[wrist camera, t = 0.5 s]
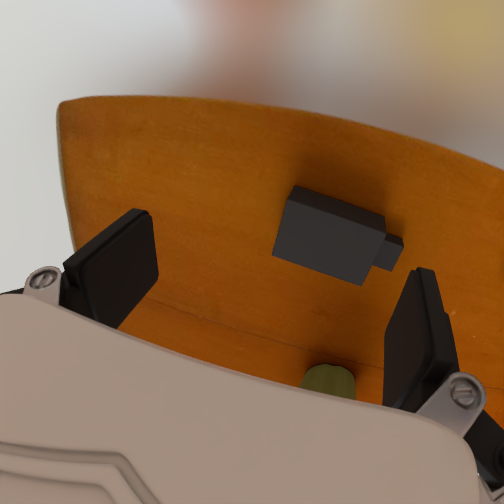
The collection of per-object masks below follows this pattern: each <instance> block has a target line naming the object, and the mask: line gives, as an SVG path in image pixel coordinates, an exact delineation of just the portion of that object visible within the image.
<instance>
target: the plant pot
mask: <svg viewBox="0 0 504 504" xmlns="http://www.w3.org/2000/svg"><path fill="white" fill-rule="evenodd" d="M299 388H302V389H306V390H310V391H315V392H319V393H324V394H328V395H333V396H337V397H342V398H346V399H351V400H356V392H355V380H354V377H353V375H352V374H351V372H350V371H348V370H347V369H345V368H343V367H341V366H332V365H329V364H321V365H317V366H314V367H312V368H310V369H309V370H308V371H307V372H306V374H305V376H304V378H303V380H302V382H301V384H300V386H299Z"/></svg>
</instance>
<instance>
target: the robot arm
mask: <svg viewBox="0 0 504 504" xmlns="http://www.w3.org/2000/svg"><path fill="white" fill-rule="evenodd" d="M63 266H64V270H65V271H64V272H63V273H61V271H60V270H59V268H56V267H53V266H47V267H43V268H40V269H38V270H36V271H34V272H33V273H31V274H30V276H29V277H28V278H27V280H26V283H25V286H24V288H21V289H17V290H13V291H9V292H5V293H1V294H0V504H504V430H503V429H502V428H501V427H500V426H499V425H498V424H497V423H496V422H495V421H494V420H493V419H492V418H491V417H490V416H489V415H488V414H487V413H486V412H485V411H484V410H483V408H484V406H485V403H486V392H485V389H484V387H483V385H482V383H481V382H480V381H479V380H478V379H477V378H476V377H474V376H473V375H471V374H469V373H466V372H460V370H459V364H458V358H457V352H456V347H455V342H454V337H453V332H452V328H451V323H450V319H449V316H448V314H447V313H446V312H444V308H443V304H442V299H441V295H440V291H439V288H438V284H437V280H436V276H435V273H434V271H433V270H430V269H425V268H421V267H417V269H416V270H411V271H410V273H409V276H408V278H407V281H406V283H405V286H404V288H403V291H402V293H401V296H400V298H399V301H398V303H397V305H396V308H395V310H394V312H393V315H392V317H391V319H390V321H389V324H388V326H387V328H386V331H385V337H384V383H383V402H382V406H381V405H377V404H372V403H366V402H361V401H356V400H351V399H346V398H342V397H337V396H333V395H328V394H324V393H319V392H315V391H310V390H306V389H302V388H298V387H293V386H289V385H285V384H281V383H277V382H274V381H270V380H266V379H262V378H259V377H255V376H252V375H248V374H244V373H241V372H238V371H234V370H231V369H227V368H224V367H221V366H218V365H214V364H211V363H208V362H205V361H202V360H199V359H196V358H193V357H190V356H187V355H184V354H181V353H178V352H175V351H172V350H169V349H166V348H164V347H161V346H158V345H155V344H153V343H150V342H147V341H144V340H142V339H139V338H137V337H134V336H131V335H129V334H126V333H124V332H121V331H119V330H116V329H117V328H118V327H119V325H120V324H121V323H122V322H123V321H124V319H125V318H126V317H127V316H128V315H129V313H130V312H131V311H132V310H133V309H134V307H135V306H136V305H137V304H138V303H139V302H140V300H141V299H142V298H143V297H144V296H145V294H146V293H147V292H148V291H149V290H150V289H151V287H152V286H153V285H154V284H155V283H156V281H157V279H158V275H159V272H158V265H157V257H156V249H155V240H154V231H153V222H152V217H151V216H150V215H149V213H148V212H147V211H146V210H141V209H135V208H133V209H131V210H130V211H128V212H127V213H126V214H124V215H123V216H122V217H120V218H119V219H118V220H116V221H115V222H114V223H112V224H111V225H110V226H108V227H107V228H106V229H104V230H103V231H102V232H101V233H99V234H98V235H97V236H95V237H94V238H93V239H92V240H90V241H89V242H88V243H87V244H85V245H84V246H83V247H82V248H80V249H79V250H78V251H77V252H75V253H74V254H73V255H72V256H71V257H69V258H68V259H67V260H66V261H65V262H63Z"/></svg>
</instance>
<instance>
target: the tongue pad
mask: <svg viewBox="0 0 504 504" xmlns="http://www.w3.org/2000/svg"><path fill="white" fill-rule="evenodd" d="M403 248H404V245H403V240H402V239H401V238H399V237H396V236H393V235H391V234H388V233H386V225H385V218H384V217H383V216H381V215H378V214H376V213H373V212H370V211H367V210H365V209H362V208H359V207H356V206H354V205H351V204H348V203H345V202H342V201H340V200H337V199H334V198H331V197H328V196H325V195H322V194H319V193H316V192H313V191H310V190H307V189H304V188H301V187H298V186H294V188H293V190H292V191H291V193H290V195H289V197H288V199H287V202H286V205H285V209H284V213H283V216H282V220H281V223H280V227H279V230H278V234H277V238H276V241H275V245H274V248H273V252H272V256H275V257H278V258H281V259H284V260H287V261H290V262H292V263H295V264H298V265H301V266H304V267H307V268H310V269H313V270H316V271H318V272H321V273H324V274H327V275H330V276H333V277H336V278H339V279H341V280H344V281H347V282H350V283H353V284H356V285H359V286H362V284H363V282H364V280H365V278H366V276H367V274H368V272H369V270H370V268H371V266H372V265H374V266H377V267H380V268H383V269H385V270H388V271H392V269H393V267H394V266H395V264H396V262H397V260H398V258H399V256H400V254H401V252H402V250H403Z"/></svg>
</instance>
